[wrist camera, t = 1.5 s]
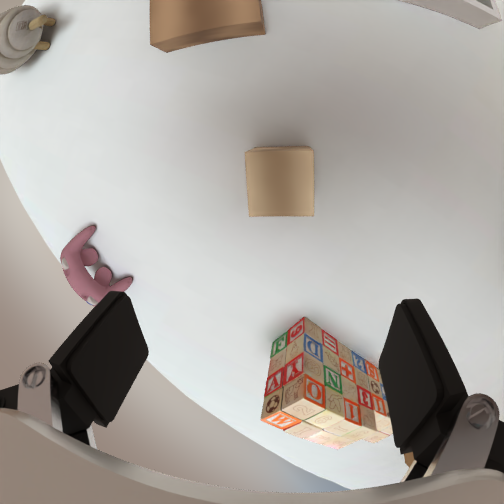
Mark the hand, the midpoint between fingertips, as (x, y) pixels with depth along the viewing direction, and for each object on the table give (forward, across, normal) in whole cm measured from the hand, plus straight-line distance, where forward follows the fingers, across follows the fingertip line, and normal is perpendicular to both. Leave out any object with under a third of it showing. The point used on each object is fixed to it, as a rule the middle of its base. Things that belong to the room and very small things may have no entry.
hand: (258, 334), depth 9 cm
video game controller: (+20, +23, +8) cm, 32 cm away
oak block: (+19, 0, -2) cm, 19 cm away
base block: (+20, +6, -22) cm, 30 cm away
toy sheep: (+20, +33, -27) cm, 47 cm away
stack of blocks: (+20, -9, +24) cm, 32 cm away
